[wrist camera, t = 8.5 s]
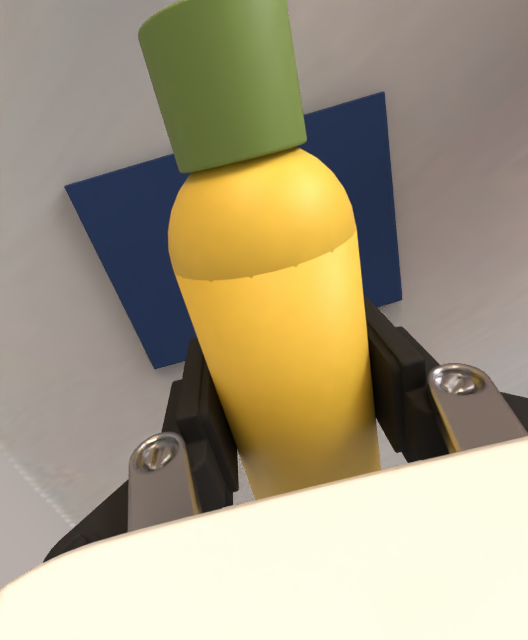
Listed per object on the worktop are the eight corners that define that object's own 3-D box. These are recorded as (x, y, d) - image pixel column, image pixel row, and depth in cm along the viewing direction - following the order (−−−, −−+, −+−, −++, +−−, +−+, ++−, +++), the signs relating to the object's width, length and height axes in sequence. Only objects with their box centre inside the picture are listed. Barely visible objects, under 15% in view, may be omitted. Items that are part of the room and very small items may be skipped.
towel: (67, 185, 22) (63, 186, 21) (380, 92, 21) (384, 91, 21) (155, 365, 28) (154, 369, 28) (399, 297, 28) (402, 300, 27)
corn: (126, 70, 9) (43, 6, 5) (303, 25, 9) (370, -78, 5) (264, 488, 16) (278, 604, 12) (362, 465, 16) (408, 572, 12)
